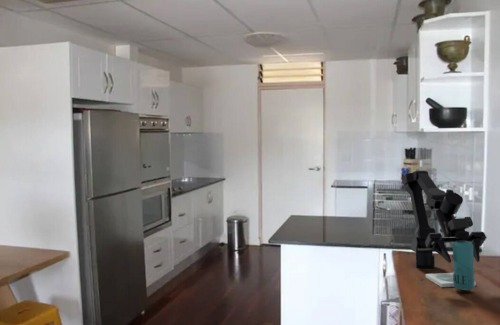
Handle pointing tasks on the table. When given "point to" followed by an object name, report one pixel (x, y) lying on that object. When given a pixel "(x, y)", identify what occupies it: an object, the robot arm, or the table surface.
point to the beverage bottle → (463, 262)
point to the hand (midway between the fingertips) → (464, 261)
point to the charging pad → (442, 279)
